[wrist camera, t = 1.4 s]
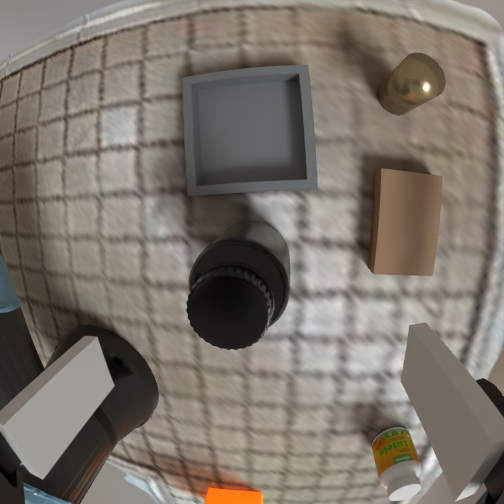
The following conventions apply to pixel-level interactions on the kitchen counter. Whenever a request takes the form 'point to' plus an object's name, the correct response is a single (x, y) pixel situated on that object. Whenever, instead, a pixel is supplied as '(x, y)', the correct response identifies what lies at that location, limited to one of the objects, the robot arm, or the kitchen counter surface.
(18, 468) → the robot arm
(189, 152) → the tray
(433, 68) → the cylinder
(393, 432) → the supplement bottle
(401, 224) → the tan cardboard box
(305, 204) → the kitchen counter surface
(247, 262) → the supplement bottle
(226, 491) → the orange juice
